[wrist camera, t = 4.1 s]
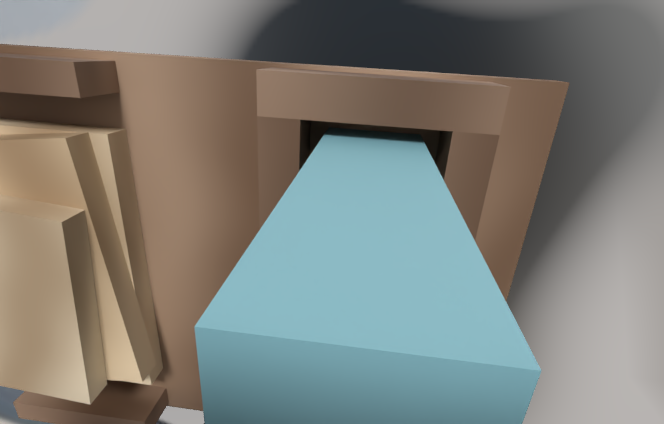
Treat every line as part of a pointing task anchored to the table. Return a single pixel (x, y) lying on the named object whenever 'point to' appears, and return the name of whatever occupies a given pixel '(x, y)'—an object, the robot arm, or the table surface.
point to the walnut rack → (266, 169)
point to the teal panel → (363, 303)
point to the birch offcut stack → (72, 263)
